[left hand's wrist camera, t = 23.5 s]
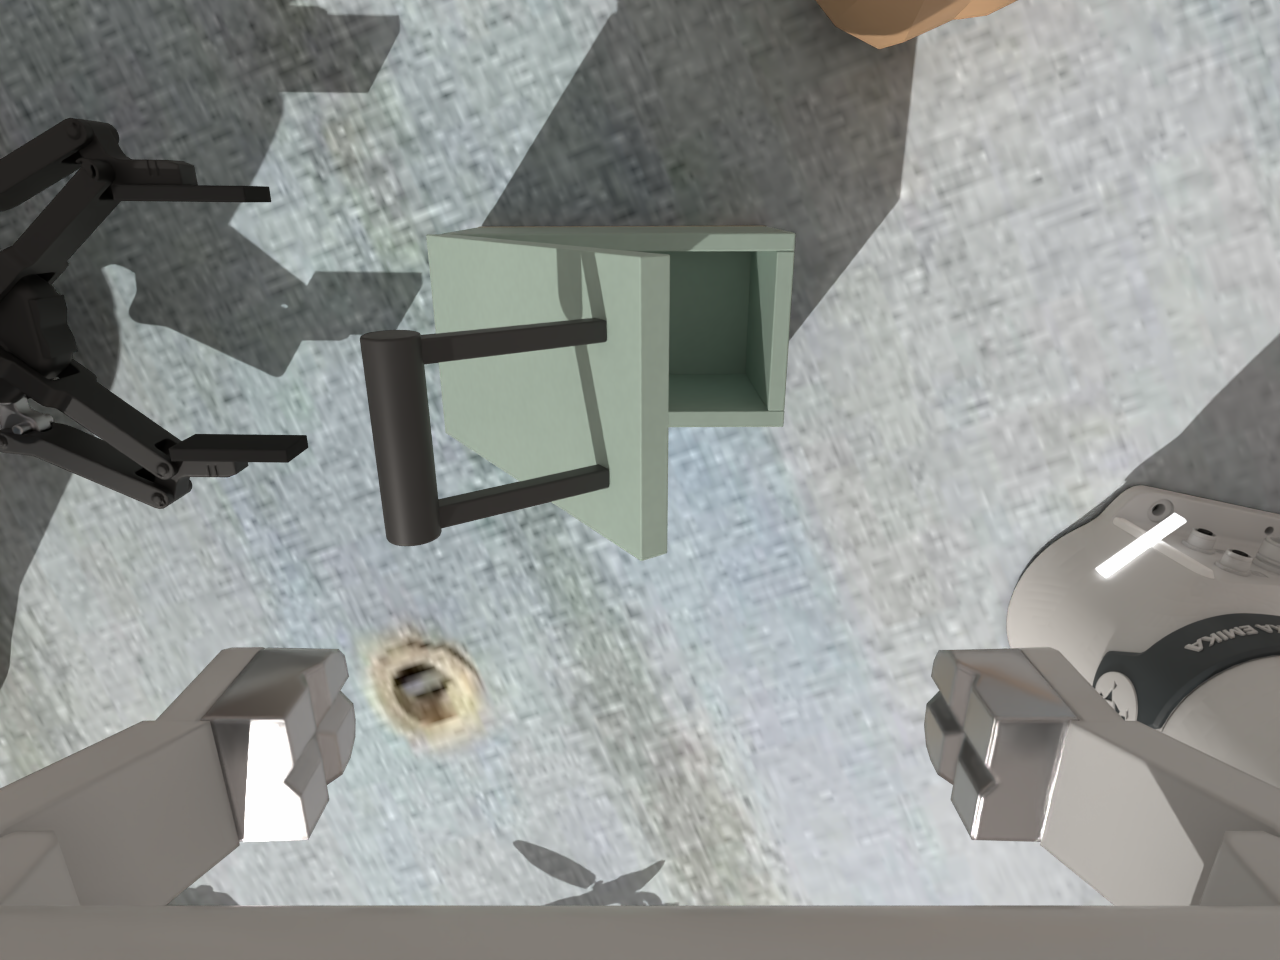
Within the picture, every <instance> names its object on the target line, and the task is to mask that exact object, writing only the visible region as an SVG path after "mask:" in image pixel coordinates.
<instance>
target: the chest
mask: <svg viewBox="0 0 1280 960" xmlns="http://www.w3.org/2000/svg"><path fill="white" fill-rule="evenodd" d="M444 234H452V235H463V236H474V237H485V238H495V239H506V240H517V241H528V242H539V243H549V244H560V245H571V246H582V247H593V248H604V249H614V250H625V251H636V252H647V253H658V254H668V255H670V311H669V409H668V427H783V422H784V405H785V390H786V375H787V359H788V344H789V329H790V314H791V299H792V284H793V268H794V249H795V237H796V234H795V233H794V232H789V231H785V230H780V229H775V228H771V227H767V226H504V227H478V228H473V229H467V230H461V231H455V232H450V233H444Z"/></svg>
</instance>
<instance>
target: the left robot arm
mask: <svg viewBox="0 0 1280 960" xmlns="http://www.w3.org/2000/svg"><path fill="white" fill-rule="evenodd" d="M1157 504H1158V507H1157V509H1156V510H1154V511H1152V509H1153V507H1154V506H1155V505H1157ZM1006 628H1007V637H1008V641H1009V645H1010V648H1011V649H972V650H939V651H938V653H937V655H936V657H935V659H934V663H933V668H932V674H931V677H932V679H933V680H934V682H935V684H936V685H937V687H938V689H939V690H940V691H939V692H938V693H937V694H936V695H935V696H934V697H933V698H932V699H931V700H930V701H929V702H928V703H927V705H926V714H925V722H924V729H925V739H926V747H927V750H928V753H929V757H930V760H931V762H932V764H933V766H934V768H935V770H936V772H937V774H938V775H939V776H941V777H942V778H944V779H945V780H947V781H948V782H949V783H951V784H952V785H953V789H952V795H951V801H952V803H953V805H954V807H955V809H956V811H957V813H958V814H959V816H960V818H961V820H962V822H963V824H964V826H965V828H966V830H967V831H968V833H969V835H970V837H971V839H972V840H996V841H1032V842H1041V843H1040V845H1041V846H1042V847H1043V848H1045V849H1046V850H1047V851H1048V852H1050V853H1051V854H1052V855H1053V856H1054V857H1056V858H1057V859H1058V860H1059V861H1061V862H1062V863H1063V864H1064V865H1065V866H1067V867H1068V868H1069V869H1070V870H1072V871H1073V872H1074V873H1075V874H1076V875H1078V876H1079V877H1080V878H1081V879H1083V880H1084V881H1085V882H1086V883H1088V884H1089V885H1090V886H1091V887H1092V888H1094V889H1095V890H1096V891H1097V892H1099V893H1100V894H1101V895H1102V896H1103V897H1105V898H1106V899H1107V900H1108V901H1110V902H1111V903H1112V904H1113V905H1114V906H166V905H167V904H168V903H169V902H171V901H172V900H173V899H174V898H176V897H177V896H178V895H179V894H180V893H182V892H183V891H184V890H185V889H187V888H188V887H189V886H190V885H192V884H193V883H194V882H195V881H196V880H198V879H199V878H200V877H201V876H203V875H204V874H205V873H206V872H208V871H209V870H210V869H211V868H212V867H214V866H215V865H216V864H217V863H219V862H220V861H221V860H222V859H223V858H225V857H226V856H227V855H228V854H230V853H231V852H232V851H233V850H235V849H236V848H237V847H238V846H239V845H240V844H239V842H248V841H283V840H308V839H309V837H310V835H311V834H312V832H313V830H314V828H315V826H316V824H317V822H318V820H319V818H320V816H321V815H322V813H323V811H324V809H325V807H326V805H327V803H328V801H329V795H328V789H327V785H328V784H329V783H331V782H332V781H333V780H335V779H336V778H338V777H339V776H341V775H342V774H343V772H344V770H345V768H346V766H347V764H348V762H349V760H350V758H351V753H352V749H353V744H354V740H355V722H356V719H355V712H354V705H353V703H352V702H351V701H350V700H349V699H348V698H347V697H346V696H345V695H344V694H343V693H342V692H341V691H340V690H341V689H342V687H343V685H344V684H345V682H346V680H347V679H348V677H349V674H348V669H347V664H346V659H345V655H344V654H343V653H342V652H341V651H340V650H339V649H312V648H263V647H237V648H228V649H224V650H222V651H221V652H220V653H219V654H218V655H217V656H216V657H215V658H214V659H213V660H212V661H211V662H210V663H209V664H208V665H207V666H206V667H205V669H204V670H203V671H202V672H201V673H200V674H199V675H198V676H197V677H196V678H195V679H194V680H193V681H192V682H191V683H190V684H189V686H188V687H187V688H186V689H185V690H184V691H183V692H182V693H181V694H180V695H179V696H178V697H177V698H176V699H175V700H174V701H173V703H172V704H171V705H170V706H169V707H168V708H167V709H166V710H165V711H164V712H163V713H162V714H161V715H160V716H159V717H158V718H157V720H156V721H142V722H140V723H138V724H135V725H133V726H131V727H129V728H127V729H125V730H123V731H121V732H119V733H116V734H114V735H112V736H110V737H108V738H106V739H104V740H102V741H100V742H97V743H95V744H93V745H91V746H89V747H87V748H85V749H83V750H81V751H78V752H76V753H74V754H72V755H70V756H68V757H66V758H64V759H62V760H60V761H57V762H55V763H53V764H51V765H49V766H47V767H45V768H43V769H41V770H38V771H36V772H34V773H32V774H30V775H28V776H26V777H24V778H22V779H19V780H17V781H15V782H13V783H11V784H9V785H7V786H5V787H3V788H1V789H0V960H1280V514H1276V513H1271V512H1267V511H1262V510H1257V509H1253V508H1248V507H1243V506H1239V505H1234V504H1229V503H1225V502H1220V501H1215V500H1210V499H1206V498H1201V497H1196V496H1192V495H1187V494H1182V493H1178V492H1173V491H1168V490H1164V489H1159V488H1154V487H1149V486H1144V485H1137V486H1133V487H1130V488H1129V489H1127V490H1125V491H1124V492H1123V493H1121V494H1120V495H1119V496H1118V497H1117V498H1116V499H1115V500H1114V501H1113V502H1112V503H1111V504H1110V505H1109V506H1108V507H1107V508H1106V509H1105V510H1104V511H1103V512H1102V513H1101V514H1100V515H1099V516H1098V517H1097V518H1095V519H1094V520H1092V521H1090V522H1089V523H1087V524H1085V525H1083V526H1081V527H1079V528H1077V529H1075V530H1073V531H1072V532H1070V533H1068V534H1066V535H1065V536H1063V537H1061V538H1060V539H1058V540H1057V541H1055V542H1054V543H1053V544H1051V545H1050V546H1049V547H1048V548H1046V549H1045V550H1044V551H1043V552H1042V553H1041V554H1040V555H1039V556H1038V557H1037V558H1036V559H1035V560H1034V561H1033V562H1032V563H1031V564H1030V566H1029V567H1028V568H1027V569H1026V571H1025V572H1024V574H1023V575H1022V577H1021V578H1020V580H1019V582H1018V583H1017V585H1016V587H1015V589H1014V592H1013V594H1012V597H1011V600H1010V603H1009V607H1008V612H1007V621H1006Z"/></svg>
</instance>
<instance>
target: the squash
mask: <svg viewBox="0 0 1280 960" xmlns="http://www.w3.org/2000/svg"><path fill="white" fill-rule="evenodd" d="M1015 1H1017V0H816V2H817V3H818V4H819V6H820V7H821V8H822V9H823V11H824V12H825V13H826V15H827V16H828V17H829V19H830V20H831V21H832V22H833V24H834V25H835V26H836V27H837V28H839V29H841V30H843V31H845V32H847V33H849V34H851V35H853V36H855V37H856V38H858V39H860V40H862V41H864V42H866V43H868V44H870V45H872V46H874V47H875V48H877V49H882V48H885V47H889V46H892V45H896V44H899V43H903V42H905V41H907V40H910V39H912V38H914V37H916V36H918V35H921V34H923V33H925V32H927V31H929V30H931V29H934V28H936V27H938V26H940V25H942V24H945V23H947V22H949V21H951V20H954V19H964V18H971V17H979V16H986V15H989V14H991V13H993V12H995V11H997V10H999V9H1001V8H1003V7H1005V6H1007V5H1009V4H1011V3H1013V2H1015Z"/></svg>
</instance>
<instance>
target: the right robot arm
mask: <svg viewBox="0 0 1280 960" xmlns="http://www.w3.org/2000/svg"><path fill="white" fill-rule="evenodd" d="M118 142H119V135H118V132H117V130H116V129H115V128H114V127H113V126H112V125H110V124H108V123H102V122H96V121H90V120H83V119H74V118H68V119H65V120H63V121H62V122H60V123H59V124H57V125H55V126H54V127H52V128H50V129H49V130H47V131H46V132H44V133H42V134H41V135H39V136H38V137H36V138H34V139H33V140H31V141H29V142H28V143H26V144H25V145H23V146H21V147H20V148H18V149H16V150H15V151H13V152H12V153H10V154H8V155H7V156H5V157H3V158H2V159H0V212H1V211H5V210H8V209H11V208H14V207H16V206H18V205H20V204H21V203H23V202H25V201H26V200H28V199H30V198H31V197H33V196H35V195H36V194H38V193H39V192H41V191H43V190H44V189H46V188H48V187H49V186H51V185H53V184H54V183H56V182H58V181H59V180H61V179H63V178H64V177H66V176H68V175H69V174H71V173H73V172H74V171H76V170H78V169H79V168H80V169H79V170H78V171H77V173H76V174H75V175H74V176H73V177H72V178H71V179H70V181H69V182H68V183H67V184H66V185H65V186H64V187H63V189H62V190H61V191H60V192H59V193H58V194H57V196H56V197H55V198H54V199H53V200H52V201H51V202H50V204H49V205H48V206H47V207H46V208H45V209H44V210H43V212H42V213H41V214H40V215H39V216H38V217H37V218H36V220H35V221H34V222H33V223H32V224H31V225H30V226H29V228H28V229H27V230H26V231H25V232H24V233H23V234H22V236H21V237H20V238H19V239H18V240H17V241H16V242H15V244H14V245H12V246H11V247H9V248H6V249H4V250H3V251H1V252H0V423H1V428H2V430H0V452H4V453H13V454H21V455H30V456H35V457H37V458H39V459H42V460H44V461H46V462H49V463H51V464H54V465H56V466H58V467H61V468H63V469H65V470H68V471H70V472H72V473H75V474H77V475H79V476H82V477H84V478H86V479H89V480H91V481H93V482H96V483H98V484H101V485H103V486H105V487H108V488H110V489H112V490H115V491H117V492H119V493H122V494H124V495H126V496H129V497H131V498H133V499H136V500H138V501H141V502H143V503H145V504H148V505H150V506H152V507H155V508H158V509H162V508H165V507H167V506H168V505H170V504H171V503H173V502H174V501H176V500H178V499H179V498H181V497H182V496H184V495H185V494H187V493H188V492H190V491H191V489H192V483H191V481H190V480H189V479H190V477H230V476H233V475H235V474H237V473H239V472H240V471H242V470H243V469H244V468H246V467H247V466H248V462H289V461H291V460H292V459H293V458H295V457H296V456H297V455H299V454H300V453H302V452H303V451H304V450H306V449H307V448H308V442H307V436H306V435H234V434H195V435H193V436H191V437H189V438H187V439H185V440H183V441H181V440H179V439H178V438H176V437H175V436H173V435H172V434H171V433H169V432H168V431H166V430H165V429H163V428H162V427H161V426H159V425H158V424H156V423H155V422H153V421H152V420H151V419H149V418H148V417H146V416H145V415H143V414H142V413H140V412H139V411H138V410H136V409H135V408H133V407H132V406H130V405H129V404H128V403H126V402H125V401H123V400H122V399H120V398H119V397H118V396H116V395H115V394H113V393H112V392H110V391H109V390H108V389H106V388H105V387H103V386H102V385H100V384H99V383H98V382H97V381H96V376H95V375H94V374H93V373H92V372H91V371H89V370H88V369H86V368H85V367H83V366H82V365H81V364H79V363H78V362H76V361H75V360H73V359H72V356H73V352H77V347H76V343H75V339H74V336H73V334H72V332H71V330H70V329H69V327H68V325H67V307H66V303H65V299H64V295H58V293H57V292H56V290H55V289H54V288H53V286H52V285H51V284H52V283H53V282H54V281H55V280H56V279H57V278H58V277H59V275H60V274H61V273H62V272H63V271H64V270H65V269H66V268H67V266H68V264H69V263H68V262H67V260H68V259H69V258H70V257H71V256H72V255H73V253H74V252H75V251H76V250H77V249H78V248H79V247H80V246H81V245H82V244H83V242H84V241H85V240H86V239H87V238H88V237H89V236H90V235H91V234H92V232H93V231H94V230H95V229H96V228H97V227H98V226H99V225H100V224H101V223H102V221H103V220H104V219H105V218H106V217H107V216H108V215H109V214H110V213H111V211H112V210H113V209H114V208H115V207H116V206H117V205H118V204H119V203H120V202H121V201H184V202H271V197H270V190H269V187H260V186H208V185H198V184H197V178H196V173H195V167H194V165H191V164H189V163H186V162H184V161H173V160H132V159H130V158H128V157H127V156H126V155H125V154H124V153H123V152H122V150H121V149H120V147H119V145H118ZM56 376H57V377H58V378H60V379H57V380H53V379H54V378H55V377H56ZM29 398H32V399H33V400H35V401H36V402H38V403H39V404H41V405H43V406H46V407H53V408H56V409H58V410H60V411H61V412H63V413H64V414H66V415H67V416H69V417H70V418H72V419H73V420H75V421H76V422H77V423H79V424H80V425H82V426H83V427H85V428H86V429H88V430H89V431H91V432H92V433H94V434H95V435H97V436H98V437H100V438H101V439H102V440H101V439H99V438H97V437H94V436H92V435H90V434H88V433H85V432H83V431H81V430H78V429H76V428H73V427H71V426H67V425H64V424H60V423H54V422H53V421H54V419H53V417H52V416H51V415H49V414H45V415H44V414H42V413H39V412H37V411H35V410H33V409H32V408H31V407H30V405H29V404H28V401H27V399H29Z"/></svg>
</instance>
